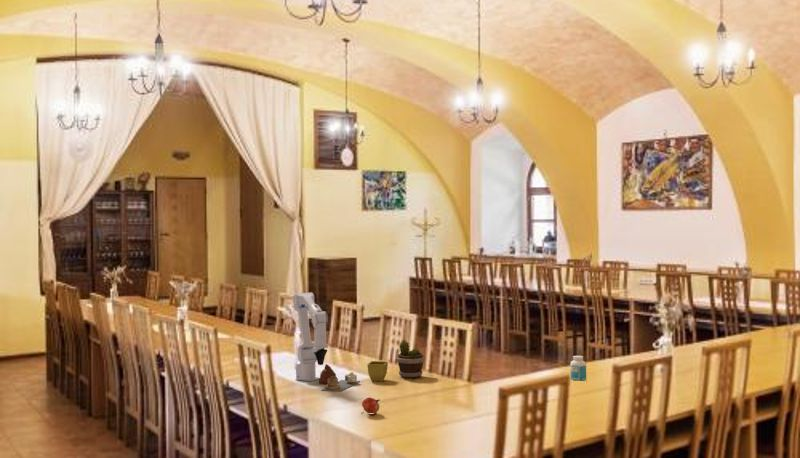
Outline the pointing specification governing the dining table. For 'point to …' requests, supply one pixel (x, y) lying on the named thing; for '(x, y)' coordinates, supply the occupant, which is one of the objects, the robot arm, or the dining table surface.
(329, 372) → the poop emoji
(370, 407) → the pomegranate
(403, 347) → the flowerpot
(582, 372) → the pill bottle
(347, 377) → the clutch plate
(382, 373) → the flower pot
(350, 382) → the hub
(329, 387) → the tan rock
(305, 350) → the robot arm
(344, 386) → the mat
